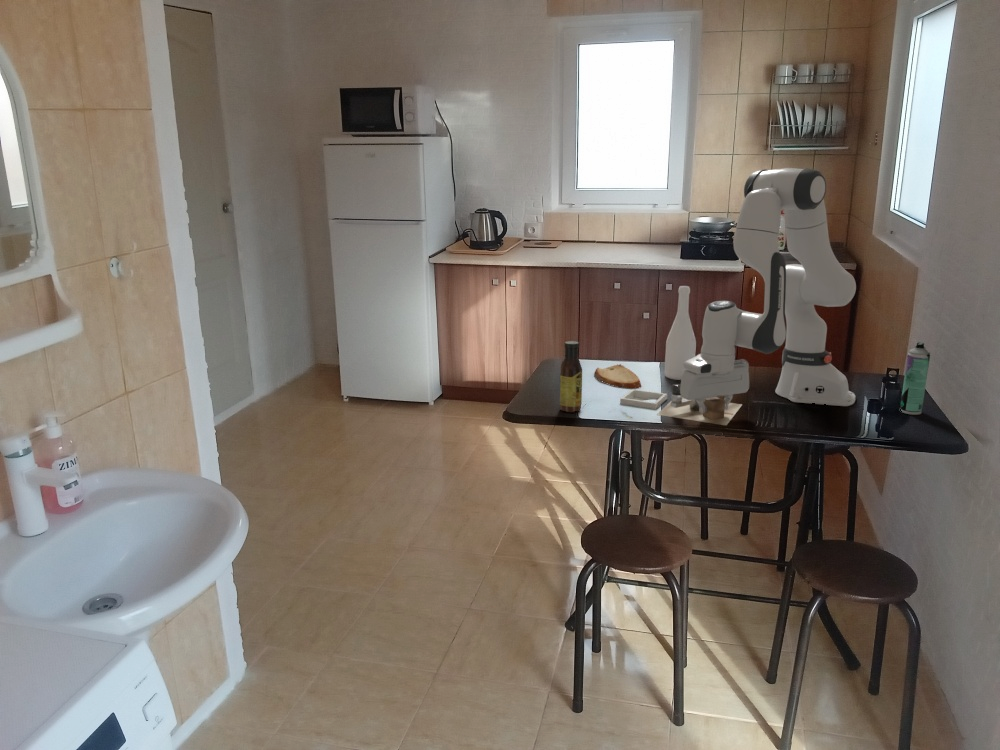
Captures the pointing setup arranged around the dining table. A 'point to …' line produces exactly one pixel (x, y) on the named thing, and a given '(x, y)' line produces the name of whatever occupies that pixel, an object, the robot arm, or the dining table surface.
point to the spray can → (915, 380)
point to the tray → (643, 398)
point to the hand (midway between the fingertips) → (713, 411)
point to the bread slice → (618, 376)
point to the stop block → (714, 408)
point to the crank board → (695, 415)
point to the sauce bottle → (571, 379)
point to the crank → (678, 400)
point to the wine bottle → (680, 338)
